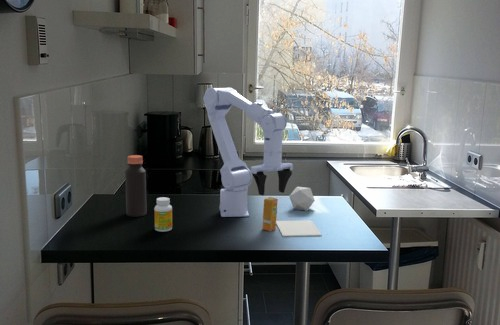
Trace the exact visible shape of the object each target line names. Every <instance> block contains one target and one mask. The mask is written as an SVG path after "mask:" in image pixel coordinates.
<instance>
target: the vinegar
mask: <svg viewBox="0 0 500 325" xmlns="http://www.w3.org/2000/svg"><path fill="white" fill-rule="evenodd" d="M143 159H144V158H143V155H139V154H134V155H133V154H131V155H128V156H127V165H128V167H127V169H125V172H124V173H125V174H124V175H125V176H124V178H125V179H124V180H125V207H126V208H125V209H126V210H125V211H126V216H128V217H131V218H132V217H133V218H138V217H139V218H140V217H144V216H146V215H147V213H148V212H147V211H148V209H147V208H148V206H147V203H148V202H147V173H146V172H147V170H146V169H145V168H144V167H143V162H144V160H143Z"/></svg>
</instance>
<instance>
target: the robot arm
mask: <svg viewBox="0 0 500 325" xmlns="http://www.w3.org/2000/svg"><path fill="white" fill-rule="evenodd" d="M202 100H203V104H204V106H205V108H206V112H207V118H208V120H209V123H210V128H211V130H212V132H213V136H214V139H215V142H216V144H217V147H218V149H219V153H220V156H221V159H222V161H223V165H222V167H221V168H220V169H219V172H220V175H221V177H220V178H221V180H220V181H221V183H222V186H223V187H224V188H221V189H220V190H219V192H220V195H219V196H220V197H219V201H220V202H219V206H218V207H219V211H220V212H219V213H220V217H221V218H222V217H223V218H226V217H227V218H228V217H229V218H230V217H234V218H235V217H239V218H240V217H249V216H250V214H249V211H248V189H249V187H250V185H251V184H252V182H253V180H254V181H255V183H256V187H257V191H258V194H259V195H261V196H264V195H265V186H266V180H267V177H268V176H267V175H266V174H265V173H268V172H271V173H272V172H277V176H278V192H280V193H282V194H283V193H285V191H286V187H287V184H288V182H289V179H290V178H291V176H293V170H294V164H293V163H291V162H282V158H283V135H284V134H283V132H284V130H285V129H286V127H287V123H288V121H287V117H286V116H285V115H284V114H283V113H282V112H274V110H273V109H271V108H268V107H266V106H264V105H263V104H264V103H263V102H261V101H259V102H258V101H255V102H251V101H249V100H248V99H247V98H245V97H244V96H242V95H241V94H240V93H239V92H238V91H237V89H234V88H232V87H230V86H228V87H208V88H207V89H206V90H205V93H204V96H203V99H202ZM232 106H234V107H236V108H238V109H240V110H242V111H244V112H245V113H246V116H247V118H249V119H250V120H252V121H253V122H254V123H256V124H257V125H259V126H260V128H261V130H262V136H263V162H262V163H263V164H259V165H254V166H253V165H252V166H250V169H249V168H248V166H247V163H246V162H245V161H243V160H241V159H240V157H239V155H238V154H239V153H238V151H237V148H236V146H235V143H234V140H233V138H232V135H231V132H230V128H229V126H228V123H227V120H226V114H228V113H229V111H230V110H231V108H232Z"/></svg>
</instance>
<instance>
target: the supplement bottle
mask: <svg viewBox="0 0 500 325" xmlns="http://www.w3.org/2000/svg"><path fill="white" fill-rule="evenodd" d="M170 199H171V198H169V197H164V196H162V197H161V196H160V197H157V198H156V205H155V206H154V208H153V210H154V230H155V231H157V232H162V233H163V232H164V233H165V232H169V231H171V230H172V229H173V206H172V205H171V204H170V203H171V201H170Z"/></svg>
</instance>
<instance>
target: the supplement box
mask: <svg viewBox="0 0 500 325" xmlns="http://www.w3.org/2000/svg"><path fill="white" fill-rule="evenodd" d="M277 212H278V198H275V197H272V196H269V197H266V198H264V199H263V212H262V230H263V231H268V232H272V231H274V230H276V228H277V224H276V221H277Z"/></svg>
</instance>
